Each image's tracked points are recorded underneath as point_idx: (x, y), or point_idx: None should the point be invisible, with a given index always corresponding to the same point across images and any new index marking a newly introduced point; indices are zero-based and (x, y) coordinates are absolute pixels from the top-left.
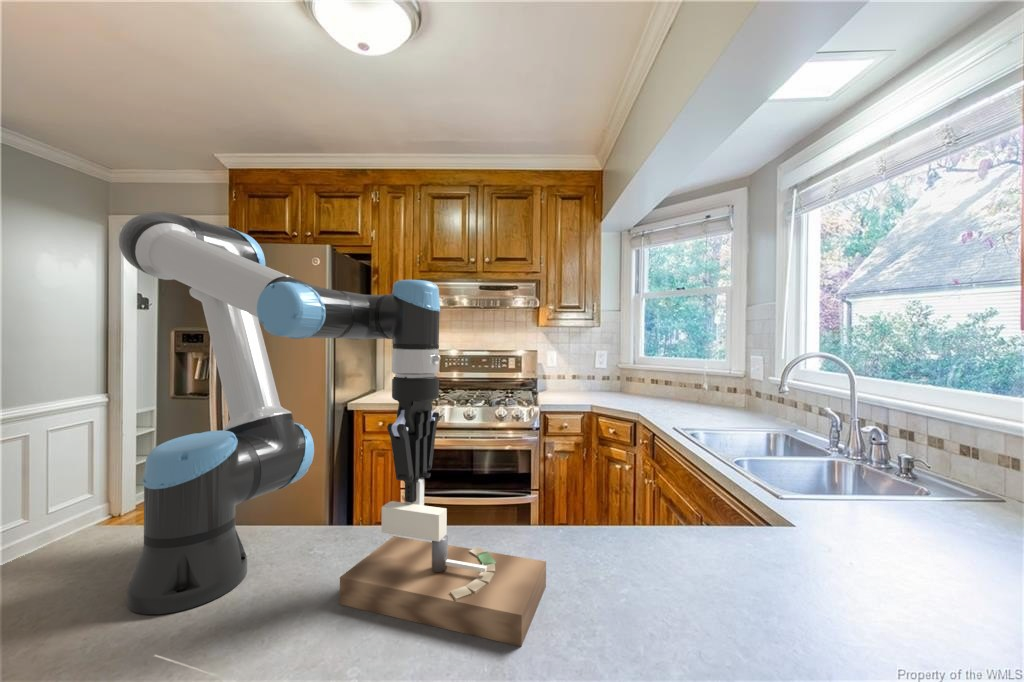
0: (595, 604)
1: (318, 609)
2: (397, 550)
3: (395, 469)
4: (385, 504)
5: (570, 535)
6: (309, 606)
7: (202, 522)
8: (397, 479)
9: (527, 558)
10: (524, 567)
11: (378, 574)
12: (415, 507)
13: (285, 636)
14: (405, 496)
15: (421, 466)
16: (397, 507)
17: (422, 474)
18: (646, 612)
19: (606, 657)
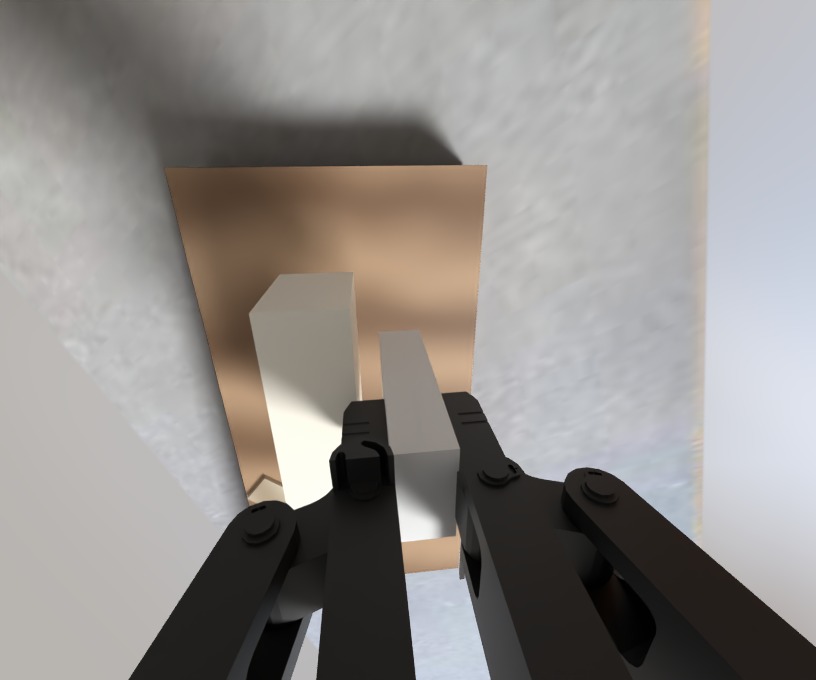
0: (425, 582)
1: (157, 115)
2: (393, 247)
3: (169, 622)
4: (287, 313)
5: (654, 504)
6: (150, 72)
7: None
8: (239, 521)
9: (459, 540)
10: (420, 547)
11: (244, 280)
12: (325, 462)
13: (26, 116)
14: (344, 424)
15: (479, 609)
16: (283, 395)
17: (460, 554)
18: (428, 626)
19: (317, 611)
